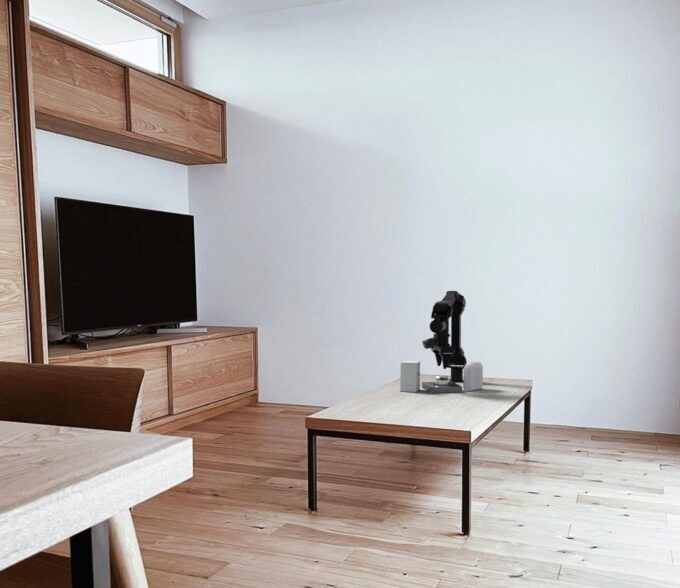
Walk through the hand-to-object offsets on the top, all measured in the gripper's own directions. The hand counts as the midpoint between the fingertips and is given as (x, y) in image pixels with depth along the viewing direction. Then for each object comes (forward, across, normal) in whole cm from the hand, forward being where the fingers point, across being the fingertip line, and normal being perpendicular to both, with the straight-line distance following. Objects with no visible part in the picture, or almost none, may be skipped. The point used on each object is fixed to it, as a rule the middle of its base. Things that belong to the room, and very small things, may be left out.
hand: (441, 367), depth 296 cm
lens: (+10, 0, 0) cm, 10 cm away
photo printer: (+10, 0, +14) cm, 17 cm away
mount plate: (+10, 0, 0) cm, 10 cm away
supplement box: (+10, 0, -14) cm, 17 cm away
